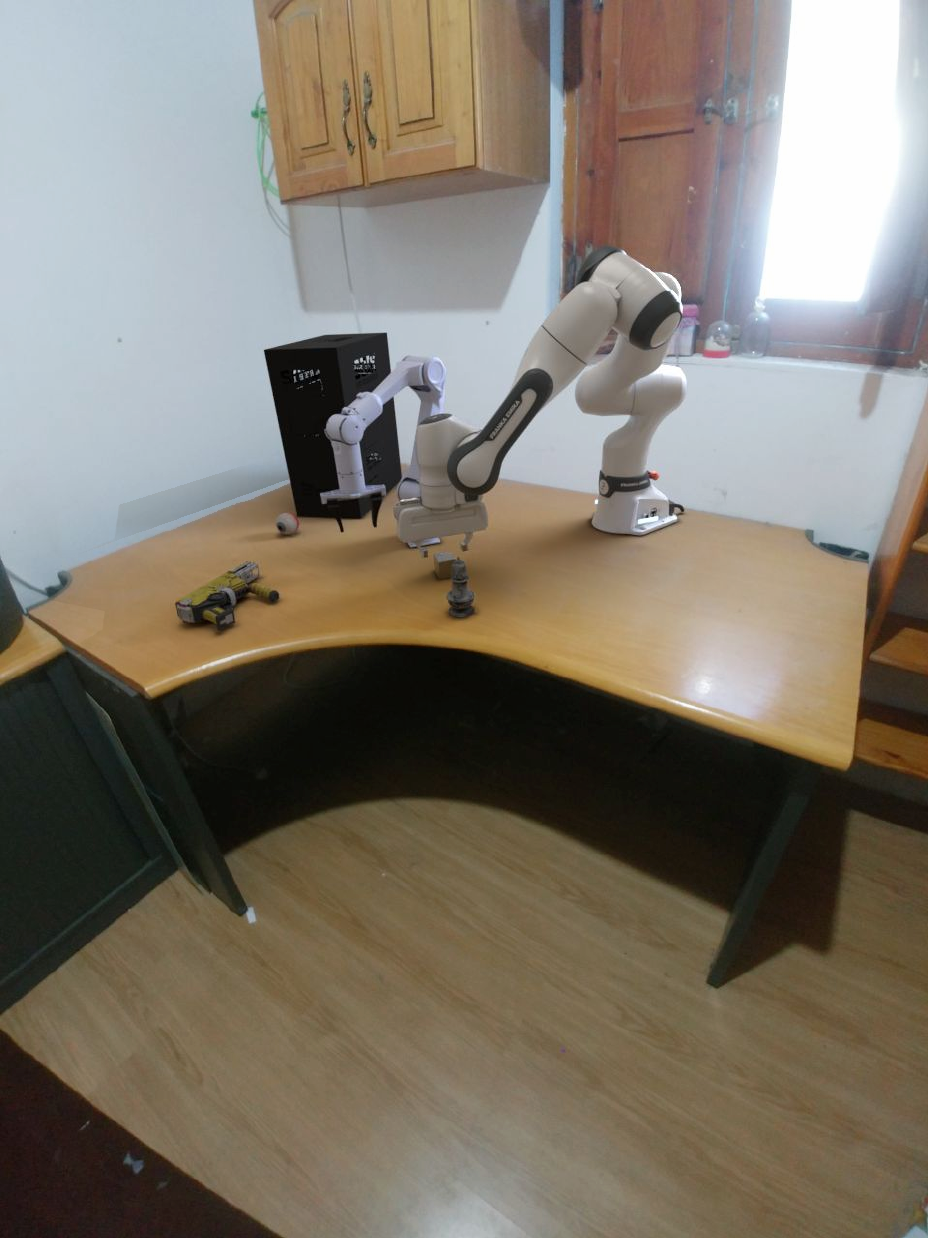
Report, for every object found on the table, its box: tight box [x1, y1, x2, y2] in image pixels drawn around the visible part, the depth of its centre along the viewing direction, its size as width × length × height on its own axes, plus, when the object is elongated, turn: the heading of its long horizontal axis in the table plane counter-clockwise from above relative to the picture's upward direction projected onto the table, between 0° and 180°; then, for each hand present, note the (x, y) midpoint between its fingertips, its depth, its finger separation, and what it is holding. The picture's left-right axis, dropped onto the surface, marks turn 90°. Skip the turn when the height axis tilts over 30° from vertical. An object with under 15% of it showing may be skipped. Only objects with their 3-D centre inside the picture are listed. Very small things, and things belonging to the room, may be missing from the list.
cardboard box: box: [263, 332, 403, 519], centre depth 180 cm, size 38×20×45 cm, turn 167°
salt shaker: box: [445, 556, 476, 618], centre depth 120 cm, size 6×6×12 cm
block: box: [433, 551, 457, 581], centre depth 137 cm, size 4×5×4 cm
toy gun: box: [174, 560, 280, 631], centre depth 130 cm, size 5×24×15 cm
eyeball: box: [275, 511, 300, 536], centre depth 163 cm, size 6×6×6 cm
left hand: (358, 528), depth 141 cm, fingers open, 7 cm apart
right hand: (444, 553), depth 135 cm, fingers open, 8 cm apart
